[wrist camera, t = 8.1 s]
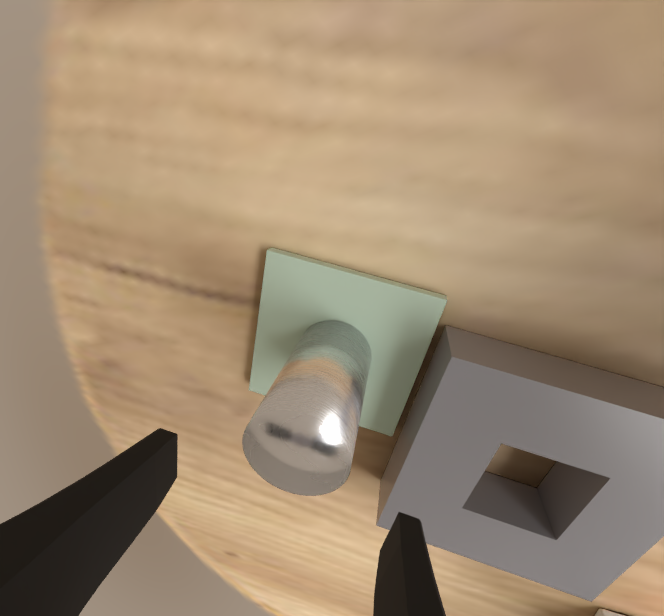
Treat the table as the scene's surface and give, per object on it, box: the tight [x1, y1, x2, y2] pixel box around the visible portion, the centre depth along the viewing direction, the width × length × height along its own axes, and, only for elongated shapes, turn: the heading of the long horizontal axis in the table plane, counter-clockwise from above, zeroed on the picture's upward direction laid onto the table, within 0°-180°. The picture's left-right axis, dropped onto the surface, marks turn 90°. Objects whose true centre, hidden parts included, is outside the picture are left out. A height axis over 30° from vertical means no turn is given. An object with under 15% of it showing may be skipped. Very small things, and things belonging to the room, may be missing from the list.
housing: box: [376, 325, 664, 602], centre depth 18 cm, size 12×12×3 cm
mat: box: [249, 247, 447, 436], centre depth 18 cm, size 9×9×1 cm
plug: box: [242, 320, 372, 496], centre depth 15 cm, size 4×4×7 cm
